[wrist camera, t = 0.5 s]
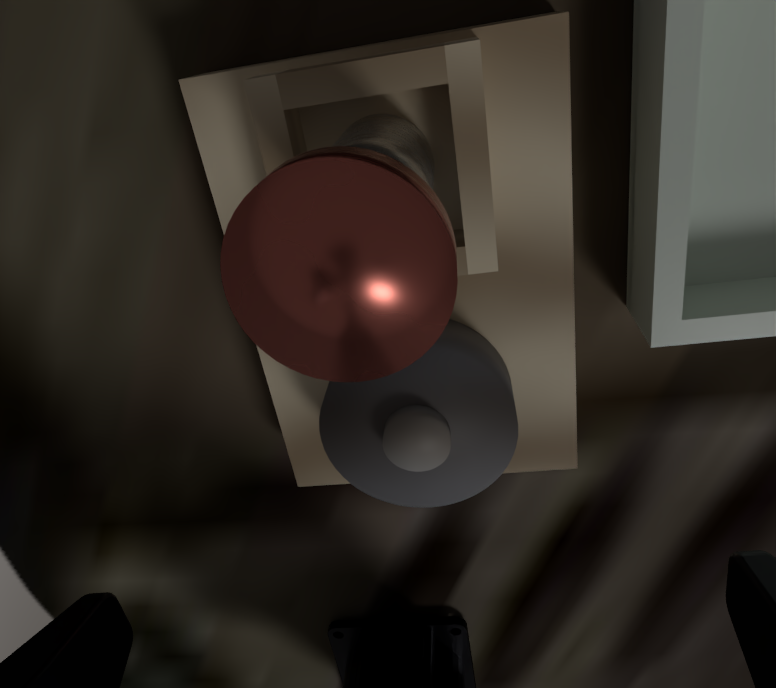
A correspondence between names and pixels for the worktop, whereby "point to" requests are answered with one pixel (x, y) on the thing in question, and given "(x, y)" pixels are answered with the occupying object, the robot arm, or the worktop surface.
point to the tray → (703, 171)
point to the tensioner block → (473, 246)
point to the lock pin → (345, 255)
